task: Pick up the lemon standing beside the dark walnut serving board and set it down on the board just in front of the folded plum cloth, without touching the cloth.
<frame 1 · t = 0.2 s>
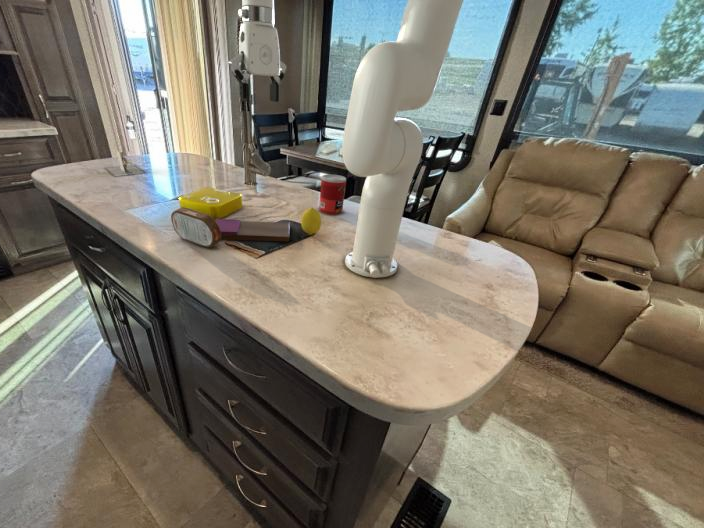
hand: (260, 101, 89), 31 cm above the worktop, tool pointing down, fingers open, 9 cm apart
tin: (197, 243, 85), on the worktop
element tile: (212, 209, 106), on the worktop
architectural model: (125, 171, 139), on the worktop
serving board: (250, 233, 92), on the worktop
canned food: (330, 211, 111), on the worktop
lemon: (310, 235, 93), on the worktop
plum cloth: (226, 232, 92), resting on serving board
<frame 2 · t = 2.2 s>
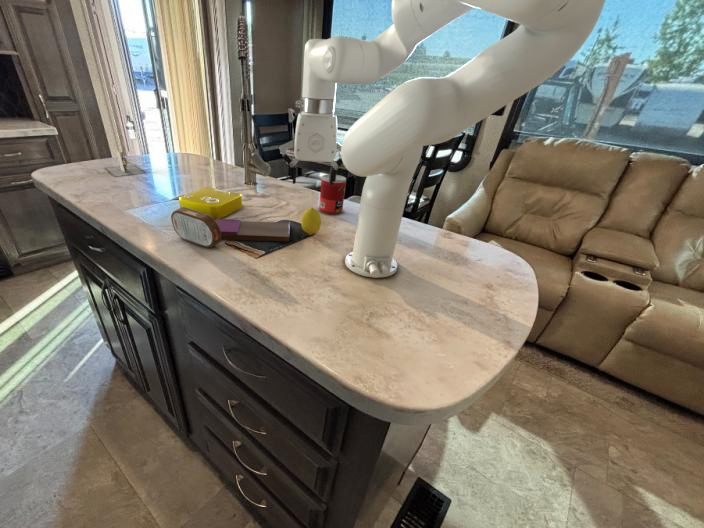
hand: (312, 183, 85), 14 cm above the worktop, tool pointing down, fingers open, 9 cm apart
nothing on the worktop moved.
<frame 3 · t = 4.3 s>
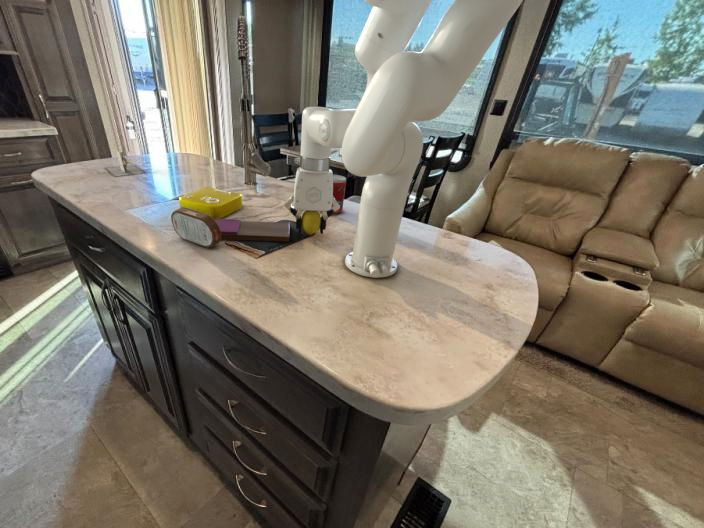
hand: (310, 230, 92), 1 cm above the worktop, tool pointing down, fingers closed on lemon, 5 cm apart
lemon: (310, 235, 93), on the worktop, touching gripper
everything else where it was.
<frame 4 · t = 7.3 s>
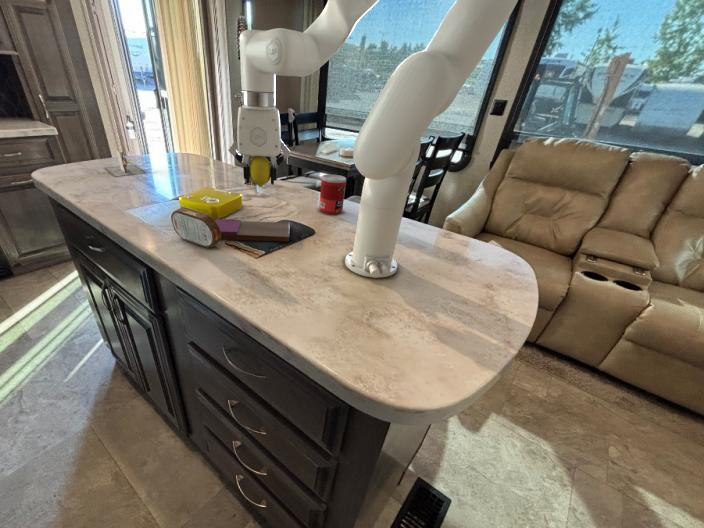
hand: (260, 181, 84), 14 cm above the worktop, tool pointing down, fingers closed on lemon, 5 cm apart
lemon: (260, 187, 85), point 13 cm above the worktop, touching gripper
everything else where it was.
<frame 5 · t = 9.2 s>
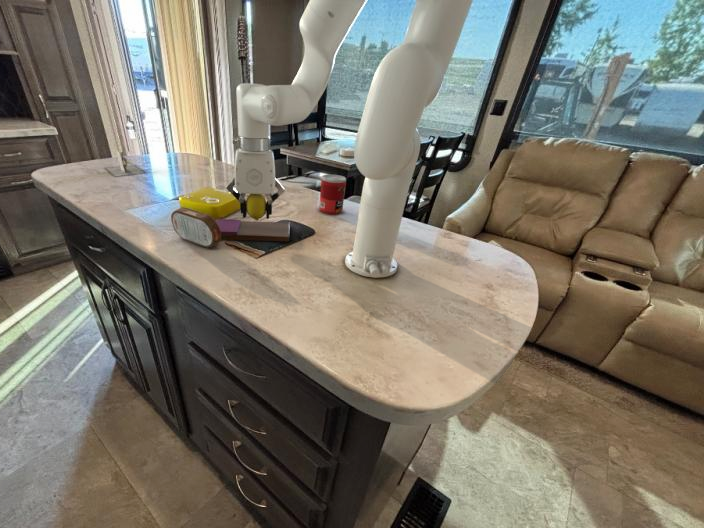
hand: (256, 215, 89), 5 cm above the worktop, tool pointing down, fingers closed on lemon, 5 cm apart
lemon: (256, 221, 90), point 4 cm above the worktop, touching gripper
everything else where it was.
when the fingers open (3 cm above the worktop, at t = 10.3 s): lemon stays where it is, resting on serving board.
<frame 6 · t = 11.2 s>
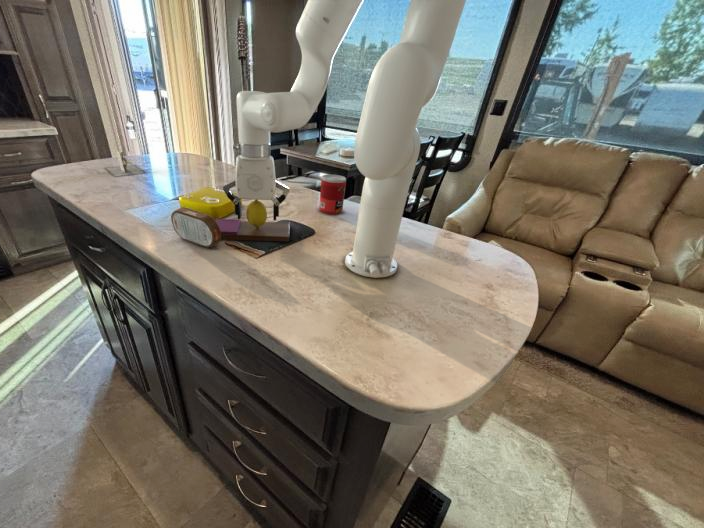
hand: (257, 218, 89), 4 cm above the worktop, tool pointing down, fingers open, 9 cm apart
lemon: (257, 228, 91), point 1 cm above the worktop, touching serving board
everything else where it was.
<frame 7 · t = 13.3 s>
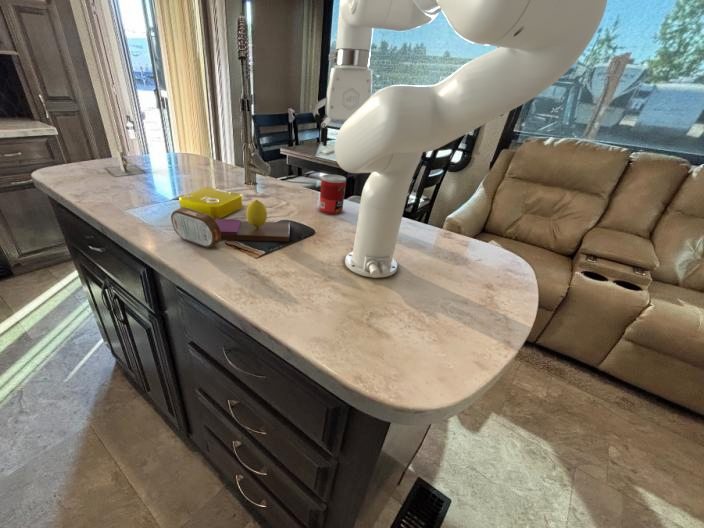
hand: (343, 146, 81), 23 cm above the worktop, tool pointing down, fingers open, 9 cm apart
nothing on the worktop moved.
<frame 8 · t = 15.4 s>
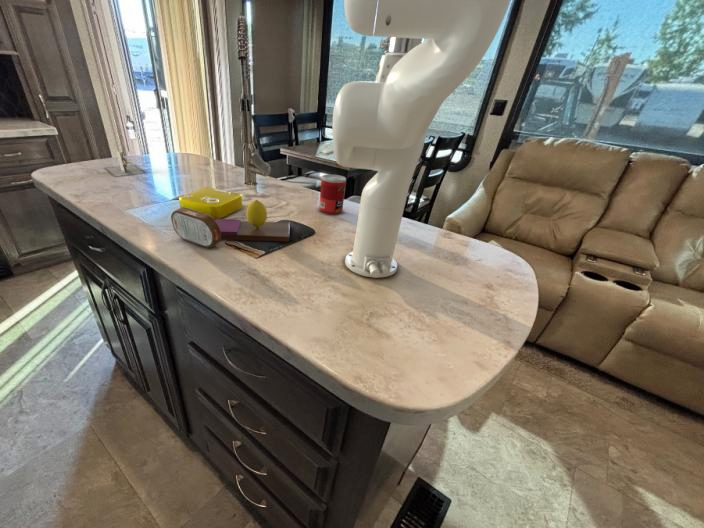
hand: (387, 134, 82), 26 cm above the worktop, tool pointing down, fingers open, 9 cm apart
nothing on the worktop moved.
at the end: lemon inside the target area on the serving board (0.5 cm from its centre), point 1.3 cm above the serving board's base; lemon touching serving board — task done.
